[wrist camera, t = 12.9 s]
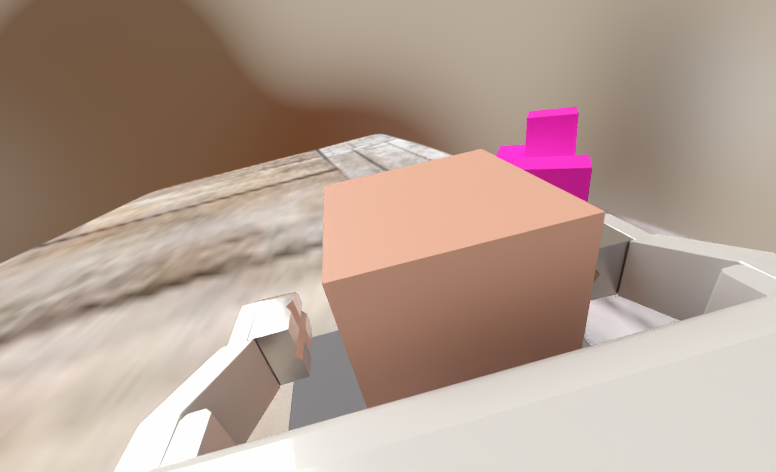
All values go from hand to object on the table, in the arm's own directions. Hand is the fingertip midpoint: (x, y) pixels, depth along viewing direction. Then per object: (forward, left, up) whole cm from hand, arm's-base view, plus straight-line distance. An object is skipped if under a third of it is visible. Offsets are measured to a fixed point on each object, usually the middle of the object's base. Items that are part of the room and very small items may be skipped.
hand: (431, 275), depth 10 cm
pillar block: (0, -1, -7) cm, 7 cm away
